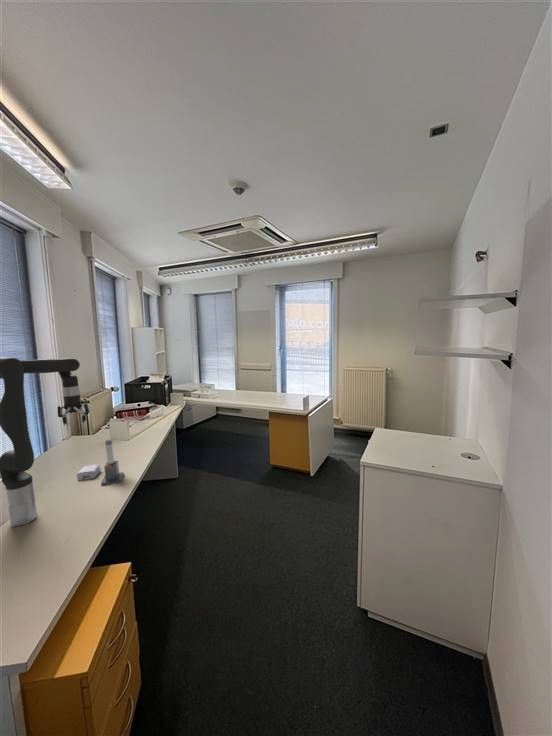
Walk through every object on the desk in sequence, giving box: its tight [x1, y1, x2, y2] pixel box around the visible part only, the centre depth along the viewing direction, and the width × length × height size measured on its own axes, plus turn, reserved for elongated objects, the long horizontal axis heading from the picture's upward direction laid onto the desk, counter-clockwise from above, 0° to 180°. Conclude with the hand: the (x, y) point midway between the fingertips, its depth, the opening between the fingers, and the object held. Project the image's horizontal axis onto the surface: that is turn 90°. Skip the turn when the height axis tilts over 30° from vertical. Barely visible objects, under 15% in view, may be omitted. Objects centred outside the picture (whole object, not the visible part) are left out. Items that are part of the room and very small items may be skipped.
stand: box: [100, 460, 125, 486], centre depth 167 cm, size 10×10×10 cm
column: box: [105, 439, 116, 465], centre depth 166 cm, size 3×3×17 cm
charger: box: [76, 463, 101, 481], centre depth 177 cm, size 5×9×15 cm
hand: (75, 422), depth 160 cm, fingers open, 8 cm apart
